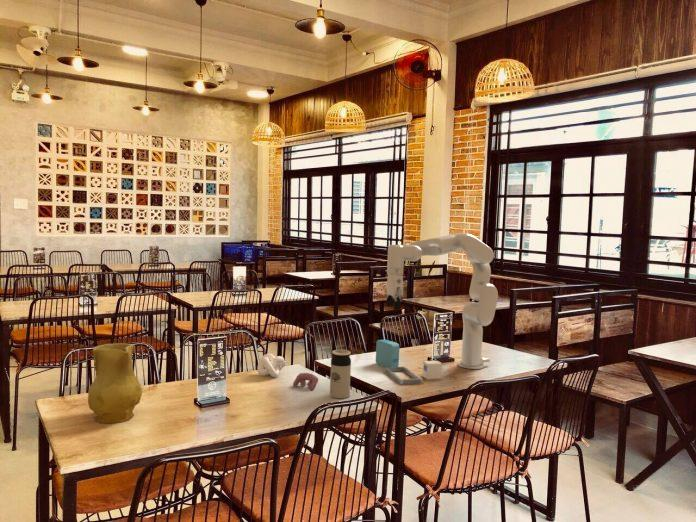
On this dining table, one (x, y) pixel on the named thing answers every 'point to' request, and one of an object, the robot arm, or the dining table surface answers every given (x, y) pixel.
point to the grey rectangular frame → (416, 379)
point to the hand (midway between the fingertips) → (393, 307)
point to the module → (432, 369)
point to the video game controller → (306, 376)
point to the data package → (387, 353)
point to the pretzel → (270, 365)
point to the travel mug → (340, 374)
